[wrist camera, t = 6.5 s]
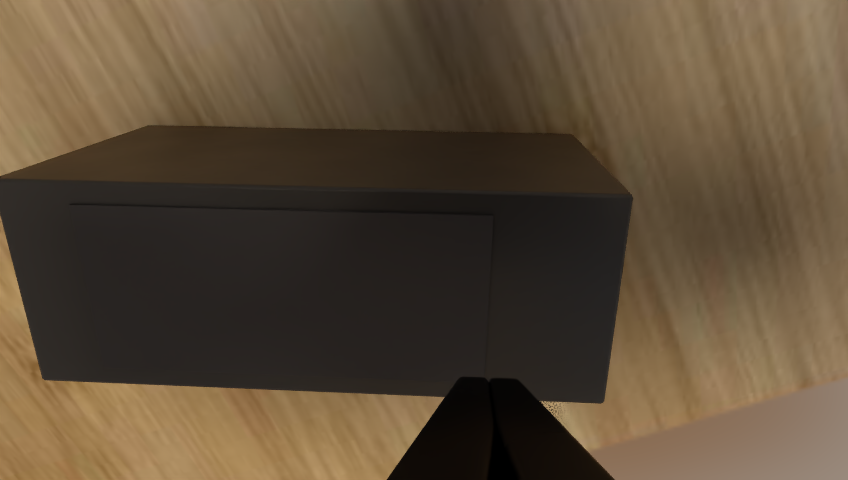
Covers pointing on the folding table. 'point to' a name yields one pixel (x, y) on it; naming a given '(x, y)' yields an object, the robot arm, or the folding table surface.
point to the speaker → (322, 260)
